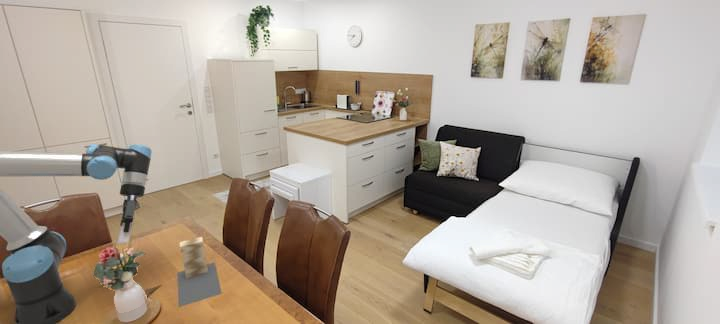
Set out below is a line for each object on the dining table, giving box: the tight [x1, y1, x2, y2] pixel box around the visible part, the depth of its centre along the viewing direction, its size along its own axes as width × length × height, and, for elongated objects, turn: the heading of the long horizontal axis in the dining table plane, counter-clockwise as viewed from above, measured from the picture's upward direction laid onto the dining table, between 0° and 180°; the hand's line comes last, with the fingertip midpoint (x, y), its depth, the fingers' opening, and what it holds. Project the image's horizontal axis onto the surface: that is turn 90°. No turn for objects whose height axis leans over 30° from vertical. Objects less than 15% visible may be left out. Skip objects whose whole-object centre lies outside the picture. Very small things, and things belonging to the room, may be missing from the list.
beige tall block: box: [179, 236, 208, 278], centre depth 130 cm, size 8×4×14 cm, turn 119°
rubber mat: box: [176, 261, 223, 308], centre depth 126 cm, size 14×22×1 cm, turn 29°
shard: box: [143, 284, 163, 299], centre depth 119 cm, size 11×8×2 cm
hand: (122, 243), depth 117 cm, fingers open, 13 cm apart
